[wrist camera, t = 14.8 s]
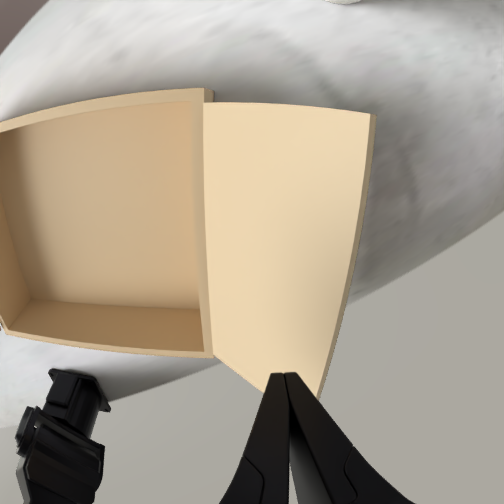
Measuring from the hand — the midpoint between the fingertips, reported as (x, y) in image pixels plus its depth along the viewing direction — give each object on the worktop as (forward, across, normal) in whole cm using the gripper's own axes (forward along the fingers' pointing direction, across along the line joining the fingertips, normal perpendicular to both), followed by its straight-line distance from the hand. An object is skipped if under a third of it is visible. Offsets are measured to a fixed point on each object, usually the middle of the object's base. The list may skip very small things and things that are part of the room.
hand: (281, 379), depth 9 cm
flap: (+5, 0, -1) cm, 5 cm away
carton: (+13, +12, -1) cm, 17 cm away
